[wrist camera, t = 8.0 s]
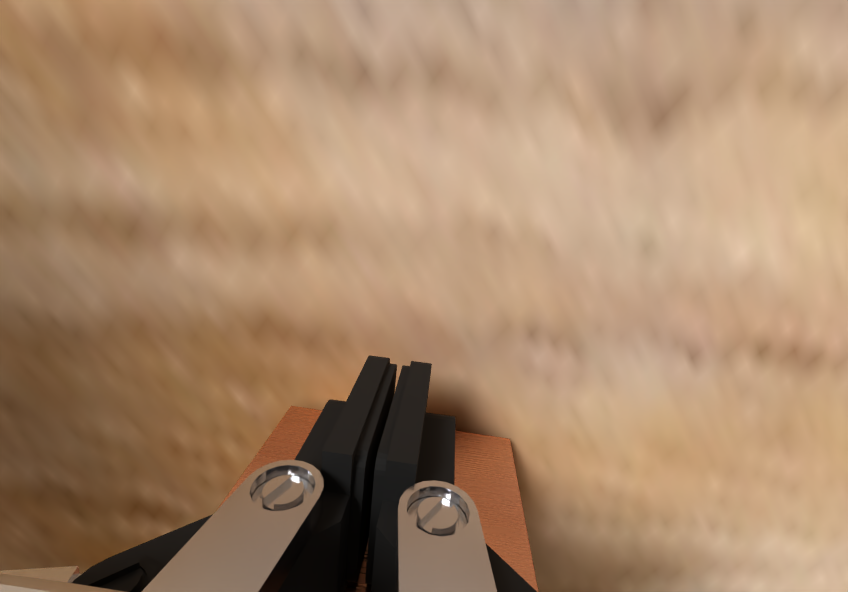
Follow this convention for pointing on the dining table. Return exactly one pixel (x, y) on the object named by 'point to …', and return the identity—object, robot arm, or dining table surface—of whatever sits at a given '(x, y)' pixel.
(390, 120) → the dining table surface
